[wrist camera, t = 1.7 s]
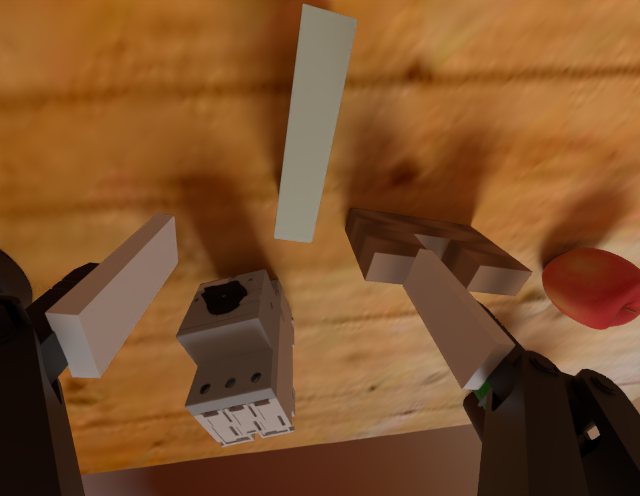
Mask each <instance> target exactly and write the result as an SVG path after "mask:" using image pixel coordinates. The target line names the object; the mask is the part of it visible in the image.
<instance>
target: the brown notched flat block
mask: <svg viewBox="0 0 640 496" xmlns="http://www.w3.org/2000/svg"><path fill="white" fill-rule="evenodd" d="M345 231H346V234H347V236H348V239H349V241H350V244H351V246H352V249H353V251H354V254H355V256H356V259H357V261H358V264H359V267H360V269H361V272H362V274H363V277H364V279H365V281H373V282H382V283H392V284H402V285H404V283H405V281H406V278H407V276H408V274H409V272H410V269H411V267H412V265H413V263H414V261H415V258H416V256H417V254H418V252H419V249H426V250H432V251H433V252H434V253H435V255H436V256H437V257H438V258H439V259H440V260H441V261H442V262H443V264H444V265H445V266H446V267H447V268H448V269H449V270H450V271H451V273H452V274H453V275H454V276H455V277H456V278H457V279H458V280H459V282H460V283H461V284H462V285H463V286H464V287H465V288H466V289H467V291H471V292H480V293H490V294H500V295H510V296H516V294H517V293H518V292H519V290H520V289H521V288H522V286H523V285H524V283H525V282H526V281H527V279H528V278H529V277H530V275H531V274H532V271H531V270H529V269H528V268H527V267H525V266H524V265H523V264H521V263H520V262H519V261H517V260H516V259H515V258H513V257H512V256H511V255H509V254H508V253H506V252H505V251H504V250H502V249H501V248H500V247H498V246H497V245H496V244H494V243H493V242H492V241H490V240H489V239H488V238H486V237H485V236H483V235H482V234H481V233H479V232H478V231H477V230H475V229H474V228H473V227H471V226H467V225H461V224H454V223H448V222H441V221H435V220H428V219H422V218H415V217H409V216H402V215H396V214H389V213H383V212H376V211H370V210H363V209H357V208H351V211H350V215H349V218H348V222H347V226H346V229H345Z"/></svg>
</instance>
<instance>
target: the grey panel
mask: <svg viewBox="0 0 640 496" xmlns="http://www.w3.org/2000/svg"><path fill="white" fill-rule="evenodd" d="M357 21H358V19H355V18H351V17H348V16H344V15H341V14H338V13H334V12H331V11H327V10H324V9H320V8H317V7H314V6H310V5H307V4H303V7H302V14H301V21H300V29H299V36H298V44H297V52H296V60H295V68H294V76H293V85H292V93H291V101H290V110H289V118H288V126H287V134H286V142H285V151H284V158H283V166H282V174H281V182H280V190H279V198H278V207H277V215H276V224H275V233H274V238H275V239H283V240H291V241H299V242H307V243H312V239H313V234H314V229H315V224H316V220H317V215H318V210H319V205H320V200H321V195H322V191H323V186H324V181H325V176H326V171H327V166H328V162H329V157H330V152H331V147H332V142H333V137H334V133H335V128H336V123H337V118H338V113H339V108H340V104H341V99H342V94H343V89H344V84H345V79H346V75H347V70H348V65H349V60H350V55H351V50H352V46H353V41H354V36H355V31H356V26H357Z"/></svg>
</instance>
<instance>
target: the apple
mask: <svg viewBox="0 0 640 496" xmlns="http://www.w3.org/2000/svg"><path fill="white" fill-rule="evenodd" d="M542 282H543V287H544V290H545V292H546V294H547V296H548V297H549V299H550V300H551V301H552V303H553V304H554V305H555V306H556V307H557V308H558V309H559V310H560V311H561V312H563V313H564V314H565V315H567V316H568V317H570V318H572V319H573V320H575V321H577V322H579V323H581V324H583V325H586V326H588V327H591V328H594V329H599V330H603V329H606V328H608V327H612V326H619V325H623V324H626V323H628V322H630V321H632V320H633V319H635V318H636V317H637V316H638V315H639V314H640V269H639V268H638V267H636V266H635V265H634V264H632V263H631V262H629V261H628V260H626V259H624V258H622V257H620V256H618V255H616V254H613V253H611V252H608V251H604V250H600V249H595V248H577V249H573V250H570V251H568V252H565V253H563V254H561V255H559V256H558V257H556V258H554V259H553V260H552V261H550V262H549V263H548V264H547V265H546V266H545V268H544V270H543V272H542Z"/></svg>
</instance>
